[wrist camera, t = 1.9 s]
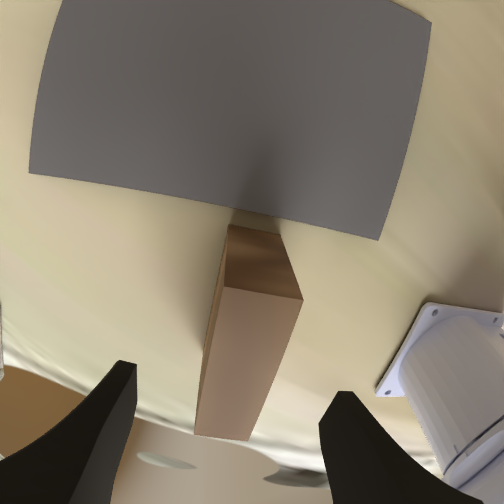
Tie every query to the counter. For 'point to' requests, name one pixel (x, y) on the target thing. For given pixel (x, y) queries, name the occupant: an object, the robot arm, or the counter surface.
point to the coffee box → (0, 358)
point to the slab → (245, 332)
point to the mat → (236, 103)
